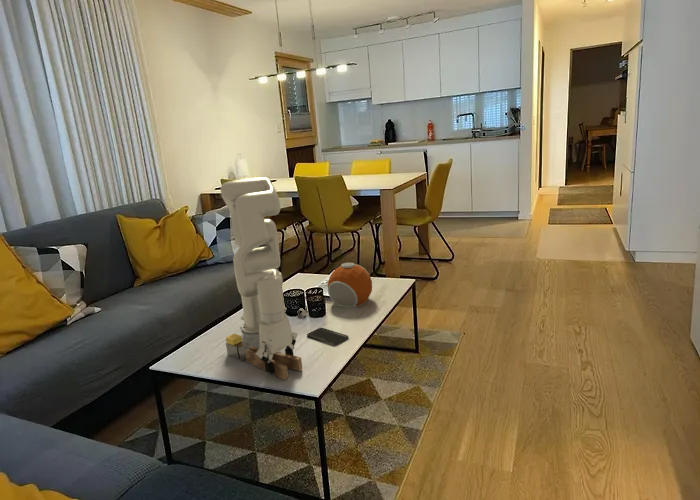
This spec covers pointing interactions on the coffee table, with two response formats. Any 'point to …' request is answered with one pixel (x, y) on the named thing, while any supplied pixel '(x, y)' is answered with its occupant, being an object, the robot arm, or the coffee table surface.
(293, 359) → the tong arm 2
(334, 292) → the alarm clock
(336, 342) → the phone
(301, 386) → the coffee table surface
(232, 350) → the tong hinge
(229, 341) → the tab
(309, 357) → the coffee table surface
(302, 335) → the coffee table surface
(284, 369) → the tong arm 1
